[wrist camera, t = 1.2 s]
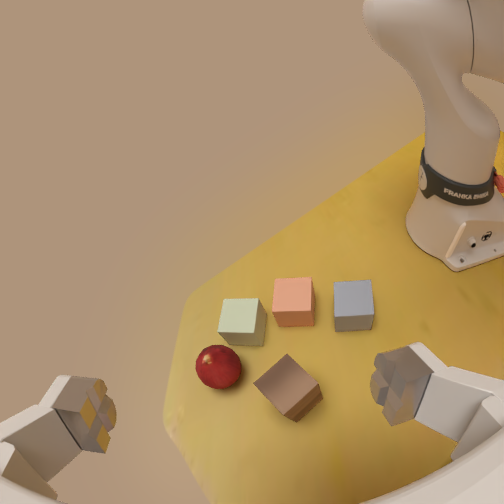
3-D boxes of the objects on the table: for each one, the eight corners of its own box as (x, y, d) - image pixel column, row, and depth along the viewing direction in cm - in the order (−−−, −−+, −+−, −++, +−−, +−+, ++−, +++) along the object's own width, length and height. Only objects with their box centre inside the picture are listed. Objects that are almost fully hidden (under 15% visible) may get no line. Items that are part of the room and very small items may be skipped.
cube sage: (267, 314, 42) (258, 298, 38) (263, 346, 39) (253, 332, 35) (235, 314, 43) (223, 299, 40) (230, 344, 40) (217, 331, 37)
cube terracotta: (314, 295, 42) (311, 277, 38) (313, 326, 39) (310, 310, 35) (281, 296, 43) (275, 278, 39) (279, 326, 40) (271, 311, 36)
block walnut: (322, 398, 32) (318, 383, 25) (296, 422, 31) (282, 415, 23) (299, 376, 35) (286, 353, 27) (273, 398, 34) (253, 383, 26)
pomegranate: (204, 364, 39) (178, 344, 33) (239, 348, 40) (219, 326, 34) (216, 399, 35) (189, 386, 30) (254, 384, 36) (234, 368, 30)
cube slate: (368, 298, 39) (370, 279, 35) (370, 329, 36) (374, 314, 32) (334, 300, 40) (333, 282, 37) (335, 331, 37) (334, 316, 34)
